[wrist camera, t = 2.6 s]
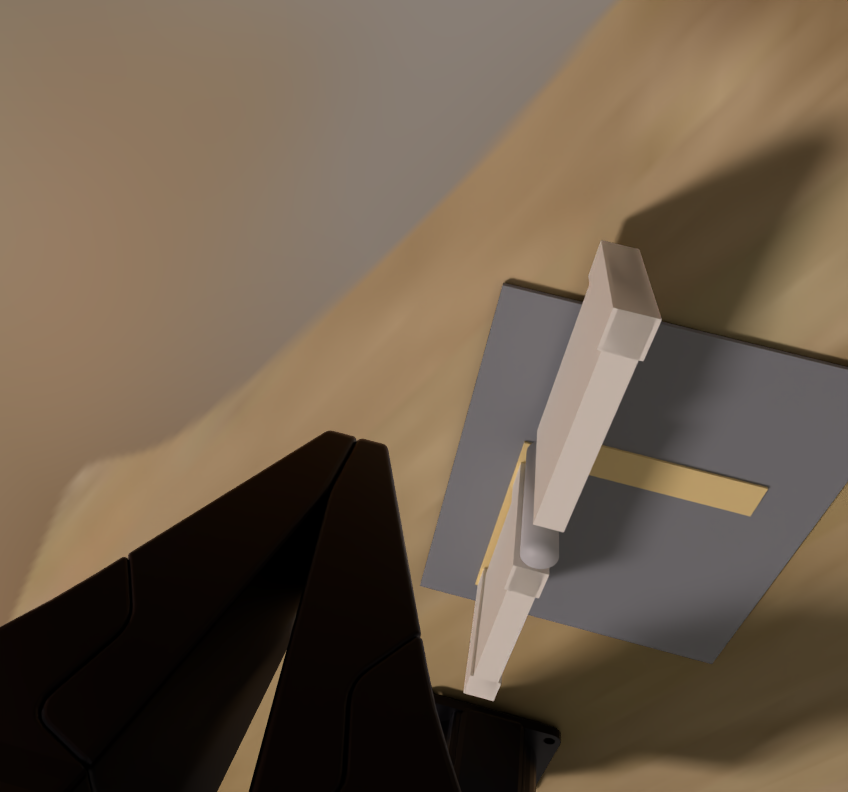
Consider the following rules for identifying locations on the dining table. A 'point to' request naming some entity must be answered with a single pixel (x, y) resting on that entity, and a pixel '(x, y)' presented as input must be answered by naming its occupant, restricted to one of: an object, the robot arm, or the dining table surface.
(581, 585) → the board
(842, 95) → the dining table surface
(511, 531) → the fixed panel
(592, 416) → the swing panel
